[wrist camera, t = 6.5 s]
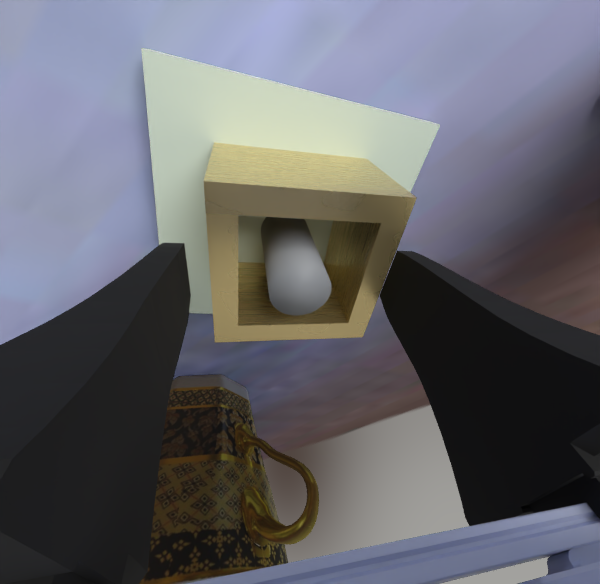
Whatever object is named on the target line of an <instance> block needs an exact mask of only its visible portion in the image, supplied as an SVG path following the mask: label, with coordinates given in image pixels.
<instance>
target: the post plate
mask: <svg viewBox="0 0 600 584" xmlns="http://www.w3.org/2000/svg"><path fill="white" fill-rule="evenodd" d="M141 49H142V60H143V71H144V82H145V93H146V105H147V116H148V127H149V138H150V149H151V160H152V171H153V182H154V194H155V205H156V216H157V227H158V238H159V245H160V244H162V243H184V244H185V252H186V260H187V268H188V276H189V284H190V292H191V299H190V308H189V313H201V314H213V308H212V294H211V280H210V266H209V252H208V238H207V223H206V209H205V195H204V177H205V174H206V170H207V167H208V163H209V159H210V156H211V152H212V149H213V145H214V142H215V143H224V144H234V145H243V146H252V147H262V148H271V149H280V150H290V151H299V152H309V153H318V154H327V155H337V156H346V157H355V158H365V159H368V160H369V161H370V162H372V163H373V164H374V165H375V166H377V167H378V168H379V169H381V170H382V171H383V172H384V173H386V174H387V175H388V176H390V177H391V178H392V179H393V180H395V181H396V182H397V183H399V184H400V185H401V186H402V187H404V188H405V189H406V190H407V191H409V192H411V190H412V187H413V185H414V183H415V181H416V178H417V176H418V174H419V172H420V169H421V167H422V165H423V163H424V160H425V158H426V156H427V154H428V151H429V149H430V147H431V145H432V142H433V140H434V138H435V136H436V133H437V131H438V129H439V127H440V125H439V124H436V123H433V122H430V121H426V120H422V119H418V118H414V117H410V116H407V115H403V114H399V113H395V112H391V111H387V110H383V109H379V108H376V107H372V106H368V105H364V104H360V103H356V102H352V101H348V100H345V99H341V98H337V97H333V96H329V95H325V94H321V93H317V92H314V91H310V90H306V89H302V88H298V87H294V86H290V85H286V84H283V83H279V82H275V81H271V80H267V79H263V78H259V77H255V76H252V75H248V74H244V73H240V72H236V71H232V70H228V69H224V68H221V67H217V66H213V65H209V64H205V63H201V62H197V61H193V60H190V59H186V58H182V57H178V56H174V55H170V54H166V53H162V52H159V51H155V50H151V49H145V48H141ZM332 224H333V220H315V219H297V218H279V217H261V216H243V215H238V262H255V263H265V269H266V276H267V284H268V291H269V298H270V301H271V303H272V305H273V306H274V307H275V308H276V309H277V310H278V311H280V312H282V313H284V314H288V315H305V314H308V313H311V312H313V311H315V310H317V309H319V308H320V307H321V306H323V305H324V304H325V302H326V301H327V300H328V298H329V296H330V293H331V281H330V279H329V276H328V274H327V272H326V269H325V267H324V260H325V256H326V251H327V247H328V242H329V237H330V233H331V228H332Z"/></svg>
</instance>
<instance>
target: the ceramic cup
mask: <svg viewBox="0 0 600 584" xmlns="http://www.w3.org/2000/svg"><path fill="white" fill-rule="evenodd" d="M260 448H261V449H262V450H263V451H264V452H265V453H266V454H267V455H268V456H269V457H271V458H272V459H274V460H276V461H278V462H280V463H282V464H284V465H286V466H288V467H290V468H293V469H294V470H296V471H297V472H299V473H300V474H301V476H302V477H303V478H304V481H305V483H306V487H307V503H306V506H305V509H304V512H303V514H302V515H301V517H300V518H299V519H298V520H297V521H296V522H295V523H293V524H292V525H289V526H285V525H283V524H281V523H280V522H279V520H278V516H277V512H276V508H275V504H274V500H273V496H272V493H271V489H270V485H269V481H268V478H267V475H266V472H265V468H264V464H263V460H262V455H261V451H260ZM318 506H319V493H318V487H317V483H316V481H315V479H314V477H313V475H312V473H311V472H310V470H309V469H308V468H307V467H306V466H305V465H304V464H302V463H300V462H299V461H297V460H296V459H294V458H292V457H289V456H287V455H285V454H282V453H280V452H278V451H276V450H275V449H273V448H272V447H271V446H270V445H269V444H268V443H266V442H265V441H264V440H262V439H260V438H257V434H256V430H255V425H254V421H253V416H252V411H251V405H250V401H249V395H248V391H247V390H246V388H245V387H244V386H242V385H240V384H238V383H236V382H235V381H233V380H231V379H229V378H227V377H225V376H224V375H221V374H220V375H195V376H179V377H177V378H175V379H174V380H173V381H172V385H171V390H170V394H169V400H168V406H167V413H166V420H165V426H164V433H163V441H162V448H161V456H160V463H159V471H158V479H157V488H156V496H155V504H154V513H153V523H152V532H151V542H150V551H149V562H148V572H147V573H146V575H145V576H144V577H143V579H142V580H141V581H140V583H139V584H187V583H192V582H197V581H202V580H207V579H212V578H217V577H222V576H227V575H232V574H237V573H242V572H246V571H251V570H256V569H261V568H266V567H271V566H276V565H281V564H286V563H288V560H287V555H286V550H285V545H284V544H294V543H297V542H299V541H301V540H303V539H304V538H305V537H306V536H307V535H308V534H309V533H310V532H311V530H312V529H313V527H314V524H315V522H316V519H317V514H318Z"/></svg>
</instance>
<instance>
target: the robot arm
mask: <svg viewBox="0 0 600 584" xmlns="http://www.w3.org/2000/svg"><path fill="white" fill-rule="evenodd" d="M380 297H381V300H382V304H383V307H384V309H385V312H386V315H387V317H388V319H389V321H390V323H391V325H392V327H393V329H394V331H395V333H396V335H397V337H398V338H399V340H400V342H401V344H402V346H403V348H404V349H405V351H406V353H407V355H408V357H409V359H410V360H411V362H412V364H413V366H414V368H415V370H416V372H417V374H418V376H419V378H420V380H421V382H422V385H423V387H424V390H425V392H426V395H427V397H428V399H429V402H430V404H431V407H432V410H433V412H434V415H435V418H436V420H437V423H438V426H439V429H440V431H441V434H442V437H443V440H444V443H445V447H446V450H447V453H448V456H449V459H450V462H451V465H452V469H453V472H454V476H455V479H456V483H457V486H458V490H459V494H460V497H461V501H462V505H463V509H464V514H465V518H466V520H467V522H468V524H469V527H464V528H459V529H454V530H450V531H444V532H439V533H434V534H429V535H424V536H419V537H415V538H409V539H404V540H399V541H395V542H390V543H385V544H380V545H375V546H370V547H365V548H360V549H355V550H350V551H345V552H341V553H335V554H330V555H325V556H321V557H316V558H311V559H306V560H301V561H296V562H291V563H286V564H281V565H276V566H271V567H266V568H261V569H256V570H251V571H246V572H242V573H237V574H232V575H227V576H222V577H217V578H212V579H207V580H202V581H197V582H192V583H187V584H440V583H444V582H448V581H451V580H456V579H460V578H464V577H468V576H472V575H476V574H480V573H484V572H488V571H492V570H496V569H500V568H505V567H508V566H513V565H516V564H521V563H525V562H529V561H533V560H537V559H541V558H545V557H549V556H550V557H549V558H548V561H547V565H548V574H547V575H546V576H543V577H540V578H536V579H533V580H529V581H525V582H522V583H518V584H600V335H597V334H594V333H591V332H588V331H585V330H582V329H579V328H576V327H573V326H571V325H568V324H565V323H562V322H559V321H557V320H554V319H552V318H549V317H546V316H544V315H541V314H539V313H537V312H534V311H532V310H529V309H527V308H525V307H522V306H520V305H518V304H515V303H513V302H511V301H509V300H507V299H505V298H503V297H501V296H499V295H497V294H495V293H493V292H491V291H489V290H487V289H485V288H483V287H481V286H479V285H477V284H475V283H473V282H471V281H469V280H467V279H466V278H464V277H462V276H460V275H458V274H456V273H455V272H453V271H451V270H449V269H447V268H446V267H444V266H442V265H440V264H438V263H436V262H434V261H432V260H430V259H429V258H427V257H424V256H422V255H420V254H418V253H415V252H412V251H397V253H396V255H395V258H394V260H393V263H392V265H391V268H390V270H389V273H388V276H387V278H386V281H385V283H384V286H383V288H382V291H381V293H380ZM190 299H191V292H190V284H189V276H188V268H187V260H186V252H185V244H184V243H162V244H160V245H159V246H158V247H156V248H155V249H154V250H153V251H151V252H150V253H149V254H148V255H146V256H145V257H144V258H143V259H142V260H140V261H139V262H138V263H136V264H135V265H134V266H133V267H131V268H130V269H129V270H127V271H126V272H125V273H124V274H122V275H121V276H120V277H118V278H117V279H115V280H114V281H112V282H111V283H110V284H108V285H107V286H105V287H104V288H102V289H101V290H99V291H98V292H97V293H95V294H94V295H92V296H91V297H89V298H88V299H86V300H84V301H83V302H81V303H80V304H78V305H76V306H75V307H73V308H71V309H69V310H68V311H66V312H64V313H62V314H61V315H59V316H57V317H55V318H54V319H52V320H50V321H48V322H46V323H44V324H42V325H40V326H38V327H36V328H34V329H32V330H30V331H28V332H26V333H24V334H22V335H20V336H18V337H16V338H14V339H12V340H10V341H8V342H6V343H4V344H2V345H0V584H139V583H140V581H141V580H142V579H143V577H144V576H145V575H146V573H147V572H148V562H149V551H150V542H151V532H152V523H153V513H154V504H155V496H156V488H157V479H158V471H159V463H160V456H161V448H162V441H163V433H164V426H165V420H166V413H167V406H168V400H169V394H170V390H171V385H172V381H173V377H174V373H175V369H176V366H177V362H178V358H179V354H180V350H181V347H182V343H183V339H184V335H185V331H186V327H187V323H188V316H189V308H190Z"/></svg>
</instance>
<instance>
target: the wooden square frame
mask: <svg viewBox="0 0 600 584" xmlns="http://www.w3.org/2000/svg"><path fill="white" fill-rule="evenodd" d="M204 195H205V209H206V223H207V238H208V252H209V266H210V280H211V294H212V308H213V322H214V336H215V342H242V341H270V340H298V339H327V338H355V337H363V335H364V333H365V330H366V327H367V325H368V322H369V320H370V317H371V314H372V312H373V309H374V307H375V304H376V302H377V299H378V296H379V294H380V291H381V289H382V286H383V283H384V281H385V278H386V276H387V273H388V271H389V268H390V265H391V263H392V260H393V258H394V255H395V253H396V250H397V247H398V245H399V242H400V240H401V237H402V234H403V232H404V229H405V227H406V224H407V222H408V219H409V216H410V214H411V211H412V209H413V206H414V204H415V201H416V197H415V196H414V195H413V194H411V193H410V192H409V191H407V190H406V189H405V188H404V187H402V186H401V185H400V184H399V183H397V182H396V181H395V180H393V179H392V178H391V177H390V176H388V175H387V174H386V173H384V172H383V171H382V170H381V169H379V168H378V167H377V166H375V165H374V164H373V163H372V162H370V161H369V160H368V159H365V158H355V157H346V156H337V155H327V154H318V153H309V152H299V151H290V150H280V149H271V148H262V147H252V146H243V145H234V144H224V143H215V142H214V145H213V149H212V152H211V156H210V159H209V163H208V167H207V170H206V174H205V177H204ZM238 215H243V216H261V217H279V218H297V219H315V220H333V224H332V228H331V233H330V237H329V242H328V247H327V251H326V256H325V260H324V267H325V269H326V272H327V274H328V276H329V279H330V281H331V293H330V296H329V298H328V300H327V301H326V302H325V304H324V305H323V306H321V307H320V308H319V309H317V310H315V311H313V312H311V313H308V314H305V315H288V314H284V313H282V312H280V311H278V310H277V309H276V308H275V307H274V306H273V305H272V303H271V301H270V298H269V291H268V284H267V276H266V269H265V263H255V262H238Z"/></svg>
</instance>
